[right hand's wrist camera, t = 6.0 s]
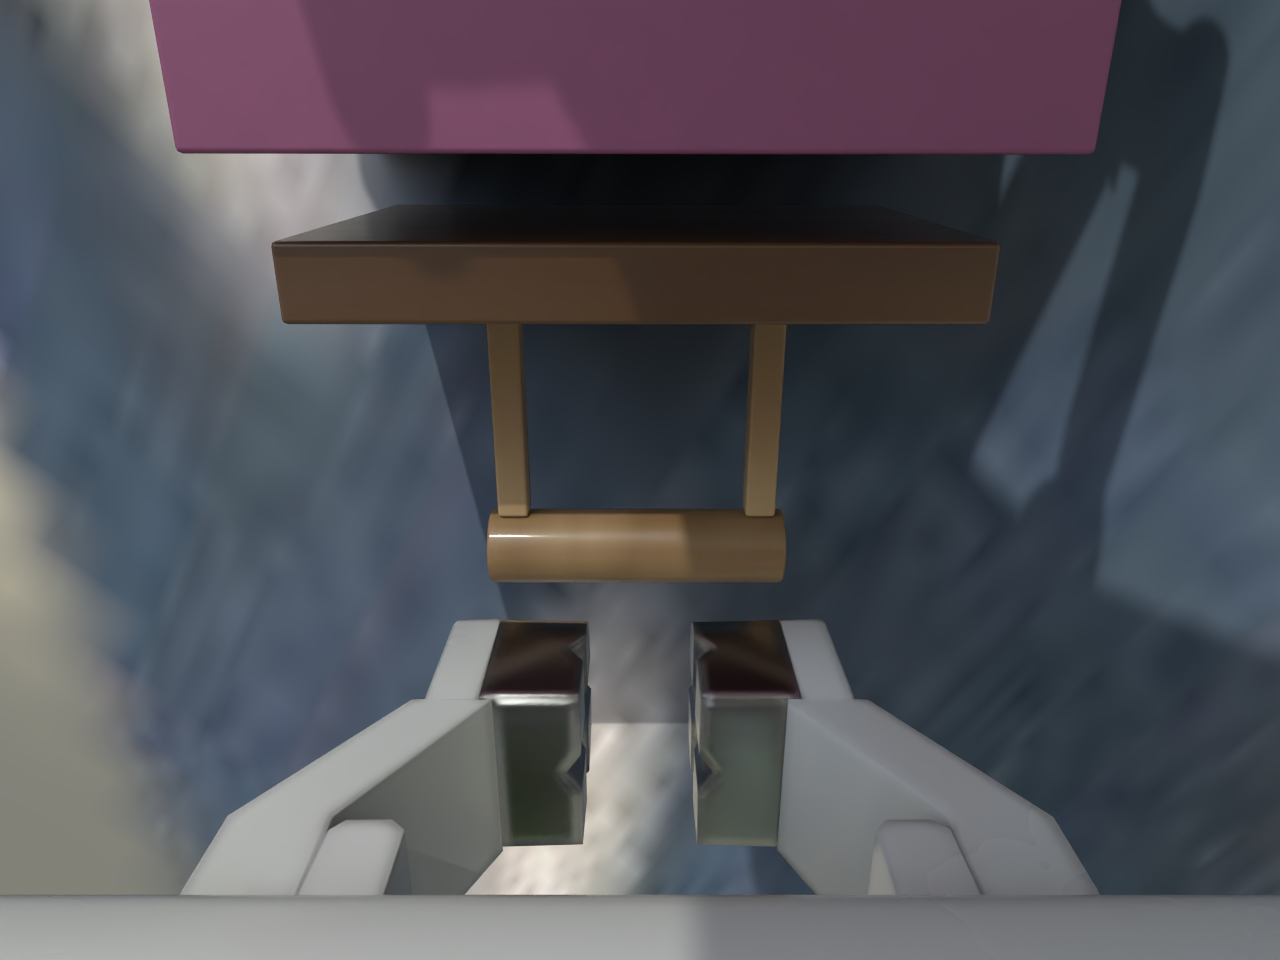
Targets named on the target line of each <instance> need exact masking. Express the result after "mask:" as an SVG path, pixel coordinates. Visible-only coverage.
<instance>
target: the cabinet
mask: <svg viewBox="0 0 1280 960" xmlns="http://www.w3.org/2000/svg"><path fill="white" fill-rule="evenodd" d="M149 2H150V7H151V13H152V18H153V24H154V30H155V35H156V41H157V46H158V52H159V57H160V63H161V69H162V74H163V80H164V85H165V91H166V96H167V102H168V108H169V113H170V119H171V124H172V130H173V135H174V141H175V147H176V149H177V151H179V152H181V153H296V154H1018V155H1088V154H1090V153H1093V152H1094V150H1095V147H1096V142H1097V136H1098V130H1099V125H1100V119H1101V114H1102V108H1103V102H1104V97H1105V91H1106V86H1107V80H1108V74H1109V69H1110V63H1111V58H1112V52H1113V46H1114V41H1115V35H1116V30H1117V24H1118V18H1119V13H1120V7H1121V2H1122V0H149Z"/></svg>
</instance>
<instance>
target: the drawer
mask: <svg viewBox="0 0 1280 960" xmlns="http://www.w3.org/2000/svg"><path fill="white" fill-rule="evenodd" d="M271 247H272V254H273V261H274V267H275V274H276V281H277V288H278V295H279V301H280V308H281V315H282V320H283V322H284V323H287V324H486V328H487V343H488V359H489V375H490V391H491V407H492V423H493V439H494V455H495V471H496V487H497V503H498V509H494V510H492V512H491V514H490V518H489V522H488V530H487V566H488V572H489V576H490V579H491V580H492V581H493V582H781V581H782V579H783V576H784V573H785V567H786V529H785V521H784V517H783V514H782V512H781V510H779V509H775V505H776V489H777V473H778V458H779V442H780V426H781V410H782V394H783V378H784V362H785V346H786V330H787V325H984V324H987V323H988V322H989V320H990V314H991V307H992V301H993V294H994V287H995V280H996V274H997V267H998V260H999V253H1000V244H999V243H997V242H995V241H991V240H988V239H985V238H982V237H978V236H975V235H972V234H968V233H965V232H962V231H959V230H955V229H952V228H949V227H946V226H942V225H939V224H936V223H932V222H929V221H926V220H923V219H919V218H916V217H913V216H910V215H906V214H903V213H900V212H896V211H893V210H890V209H887V208H883V207H880V206H877V205H395V206H392V207H388V208H385V209H382V210H378V211H375V212H371V213H368V214H365V215H361V216H358V217H355V218H351V219H348V220H345V221H341V222H338V223H335V224H331V225H328V226H325V227H321V228H318V229H314V230H311V231H308V232H304V233H301V234H298V235H294V236H291V237H288V238H284V239H281V240H278V241H275V242H273V243H272V246H271ZM522 324H712V325H751V333H750V354H749V375H748V396H747V417H746V438H745V459H744V480H743V501H742V505H743V508H744V509H530V506H531V493H530V472H529V452H528V431H527V410H526V389H525V368H524V347H523V326H522Z"/></svg>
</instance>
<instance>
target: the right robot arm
mask: <svg viewBox="0 0 1280 960" xmlns="http://www.w3.org/2000/svg"><path fill="white" fill-rule="evenodd" d="M589 663H590V642H589V625H588V622H584V621H532V620H503V621H501V620H500V619H482V620H459V621H457V622H456V623H455V624H454V625H453V627H452V630H451V632H450V635H449V638H448V640H447V643H446V645H445V648H444V651H443V653H442V656H441V658H440V661H439V664H438V666H437V669H436V671H435V674H434V677H433V679H432V682H431V684H430V687H429V690H428V692H427V695H426V697H425V699H415V700H410V701H409V702H407V703H406V704H404V705H403V706H401V707H399V708H398V709H396V710H395V711H393V712H391V713H390V714H388V715H387V716H385V717H384V718H382V719H380V720H379V721H377V722H376V723H374V724H372V725H371V726H369V727H368V728H366V729H364V730H363V731H361V732H360V733H358V734H357V735H355V736H353V737H352V738H350V739H349V740H347V741H345V742H344V743H342V744H341V745H339V746H338V747H336V748H334V749H333V750H331V751H330V752H328V753H326V754H325V755H323V756H322V757H320V758H319V759H317V760H315V761H314V762H312V763H311V764H309V765H307V766H306V767H304V768H303V769H301V770H300V771H298V772H296V773H295V774H293V775H292V776H290V777H288V778H287V779H285V780H284V781H282V782H280V783H279V784H277V785H276V786H274V787H273V788H271V789H269V790H268V791H266V792H265V793H263V794H261V795H260V796H258V797H257V798H255V799H254V800H252V801H250V802H249V803H247V804H246V805H244V806H242V807H241V808H239V809H238V810H236V811H235V812H233V813H231V814H230V815H228V816H227V818H226V819H225V821H224V823H223V824H222V826H221V828H220V829H219V831H218V832H217V834H216V836H215V837H214V839H213V841H212V842H211V844H210V846H209V847H208V849H207V850H206V852H205V854H204V855H203V857H202V859H201V860H200V862H199V864H198V865H197V867H196V868H195V870H194V872H193V873H192V875H191V877H190V878H189V880H188V882H187V883H186V885H185V886H184V888H183V890H182V891H181V893H180V895H0V960H1280V895H1100V893H1099V892H1098V890H1097V888H1096V887H1095V885H1094V883H1093V882H1092V880H1091V878H1090V877H1089V875H1088V873H1087V872H1086V870H1085V868H1084V867H1083V865H1082V863H1081V862H1080V860H1079V859H1078V857H1077V855H1076V854H1075V852H1074V850H1073V849H1072V847H1071V845H1070V844H1069V842H1068V840H1067V839H1066V837H1065V835H1064V834H1063V832H1062V830H1061V829H1060V827H1059V825H1058V824H1057V822H1056V821H1055V819H1054V817H1052V816H1051V815H1049V814H1048V813H1046V812H1045V811H1043V810H1041V809H1040V808H1038V807H1037V806H1035V805H1034V804H1032V803H1030V802H1029V801H1027V800H1026V799H1024V798H1022V797H1021V796H1019V795H1018V794H1016V793H1015V792H1013V791H1011V790H1010V789H1008V788H1007V787H1005V786H1004V785H1002V784H1000V783H999V782H997V781H996V780H994V779H992V778H991V777H989V776H988V775H986V774H985V773H983V772H981V771H980V770H978V769H977V768H975V767H974V766H972V765H970V764H969V763H967V762H966V761H964V760H963V759H961V758H959V757H958V756H956V755H955V754H953V753H951V752H950V751H948V750H947V749H945V748H944V747H942V746H940V745H939V744H937V743H936V742H934V741H933V740H931V739H929V738H928V737H926V736H925V735H923V734H921V733H920V732H918V731H917V730H915V729H914V728H912V727H910V726H909V725H907V724H906V723H904V722H903V721H901V720H899V719H898V718H896V717H895V716H893V715H891V714H890V713H888V712H887V711H885V710H884V709H882V708H880V707H879V706H877V705H876V704H874V703H873V702H871V701H869V700H865V699H855V698H854V695H853V693H852V690H851V688H850V685H849V682H848V680H847V677H846V675H845V672H844V670H843V667H842V665H841V662H840V659H839V657H838V654H837V652H836V649H835V647H834V644H833V641H832V639H831V636H830V634H829V631H828V629H827V626H826V624H825V622H824V621H822V620H821V619H805V620H782V621H779V620H766V621H725V622H693V623H691V635H690V664H691V676H692V686H691V687H690V688H689V750H690V766H691V772H692V773H694V778H693V804H694V814H695V825H696V836H697V844H705V845H741V846H777V851H778V852H779V853H780V854H781V855H782V856H783V857H784V859H785V860H786V861H787V862H788V863H789V864H790V865H791V867H792V868H793V869H794V870H795V871H796V872H797V873H798V875H799V876H800V877H801V878H802V879H803V880H804V881H805V883H806V884H807V885H808V886H809V887H810V888H811V889H812V891H813V892H814V893H815V894H816V895H464V894H465V893H466V892H467V891H468V890H469V889H470V888H471V886H472V885H473V884H474V883H475V882H476V881H477V880H478V879H479V877H480V876H481V875H482V874H483V873H484V872H485V871H486V869H487V868H488V867H489V866H490V865H491V864H492V863H493V861H494V860H495V859H496V858H497V857H498V856H499V855H500V853H501V852H502V851H503V848H502V846H537V845H573V844H583V836H584V825H585V813H586V802H587V785H586V773H587V772H588V771H589V764H590V746H591V688H590V687H589V686H588V675H589Z"/></svg>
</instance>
